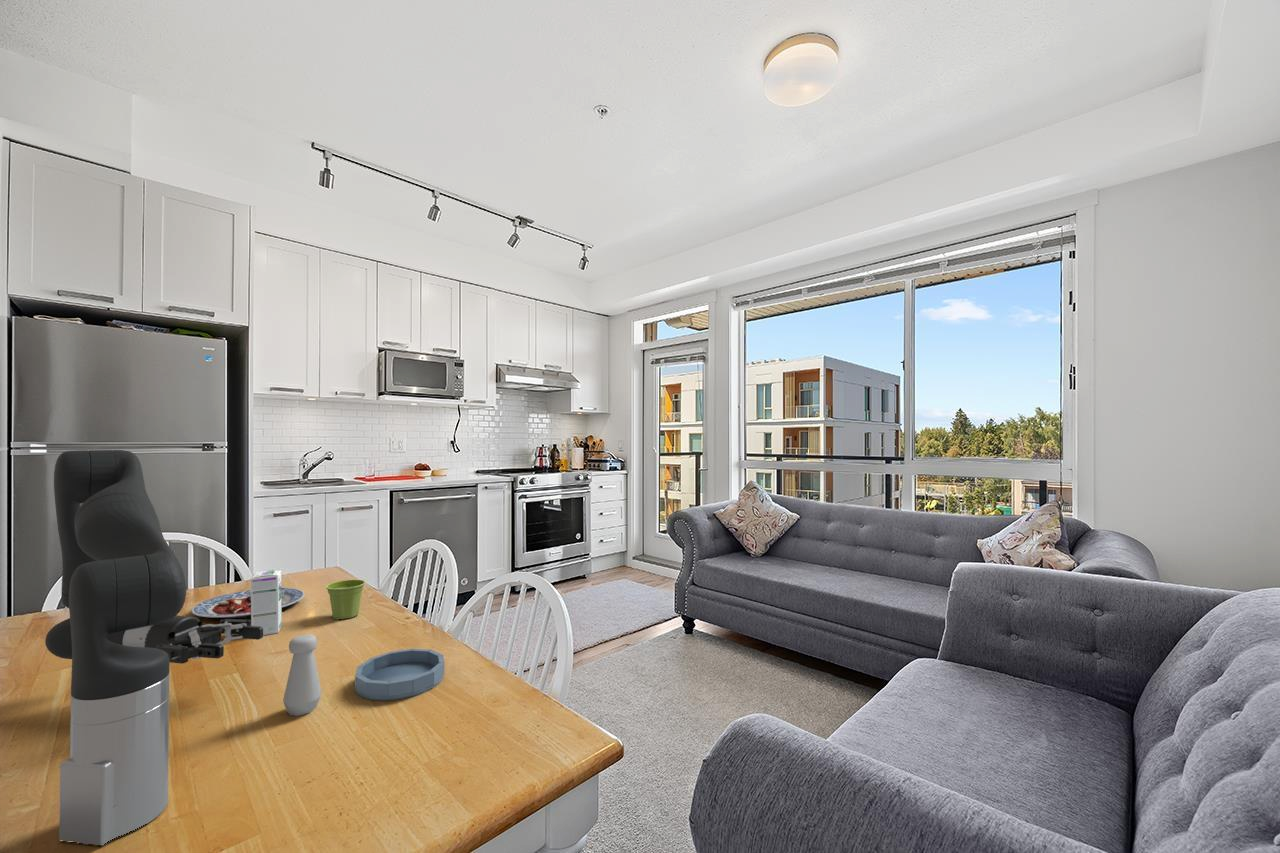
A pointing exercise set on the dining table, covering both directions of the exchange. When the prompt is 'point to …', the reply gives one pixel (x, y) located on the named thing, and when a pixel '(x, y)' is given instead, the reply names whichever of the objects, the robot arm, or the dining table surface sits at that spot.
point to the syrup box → (266, 601)
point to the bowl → (399, 674)
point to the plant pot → (345, 598)
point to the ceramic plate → (239, 604)
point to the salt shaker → (302, 677)
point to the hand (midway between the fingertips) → (242, 641)
